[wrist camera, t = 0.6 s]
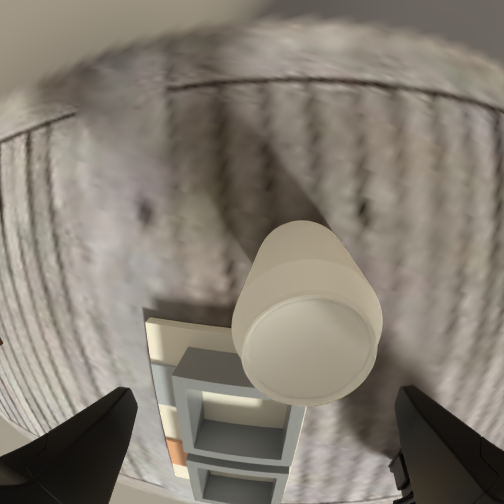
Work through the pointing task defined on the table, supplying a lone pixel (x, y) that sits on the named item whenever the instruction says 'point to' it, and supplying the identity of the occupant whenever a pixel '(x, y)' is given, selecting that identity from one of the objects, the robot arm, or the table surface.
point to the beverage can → (306, 318)
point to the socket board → (219, 416)
